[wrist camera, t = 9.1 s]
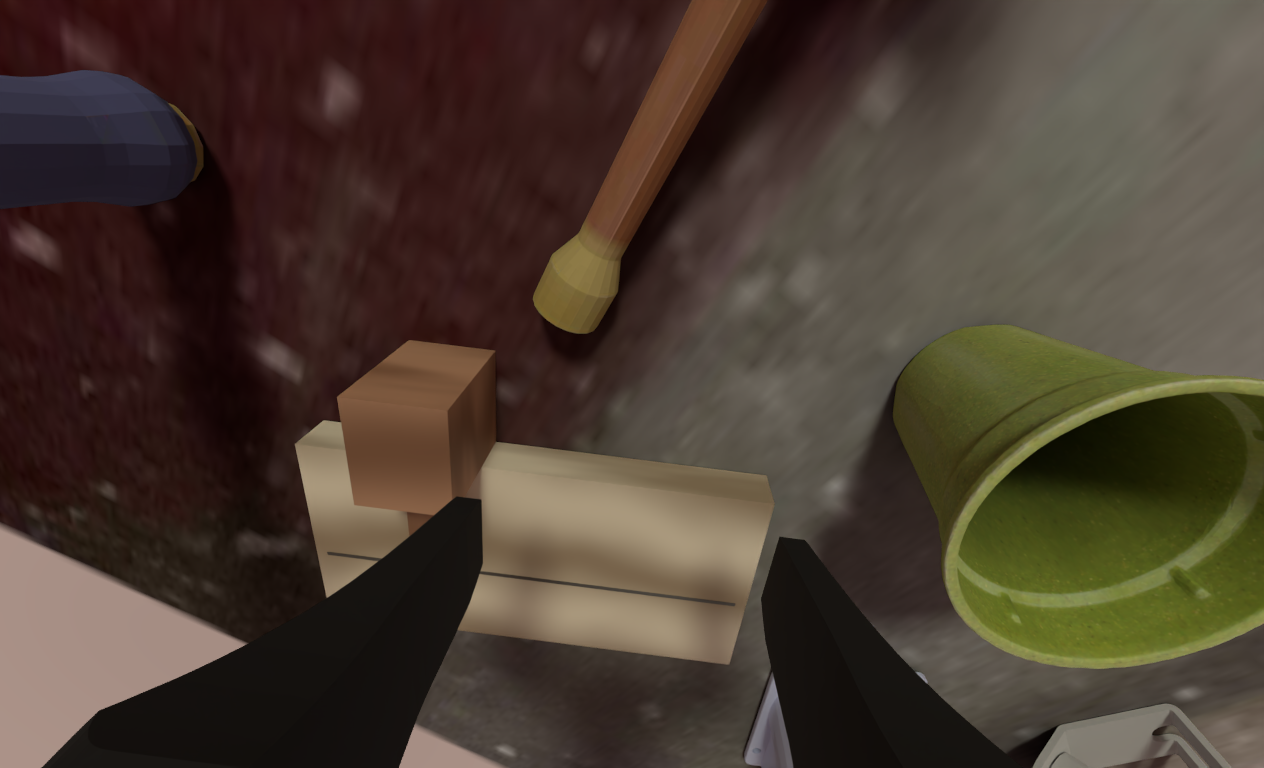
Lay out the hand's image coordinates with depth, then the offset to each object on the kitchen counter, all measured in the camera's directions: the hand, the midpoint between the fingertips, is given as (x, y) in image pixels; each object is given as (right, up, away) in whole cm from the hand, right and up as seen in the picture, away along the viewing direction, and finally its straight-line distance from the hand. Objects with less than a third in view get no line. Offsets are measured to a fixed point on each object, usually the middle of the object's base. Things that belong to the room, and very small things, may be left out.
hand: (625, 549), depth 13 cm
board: (-4, -3, +13) cm, 14 cm away
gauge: (-8, 0, +11) cm, 14 cm away
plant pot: (+14, +4, +9) cm, 16 cm away
